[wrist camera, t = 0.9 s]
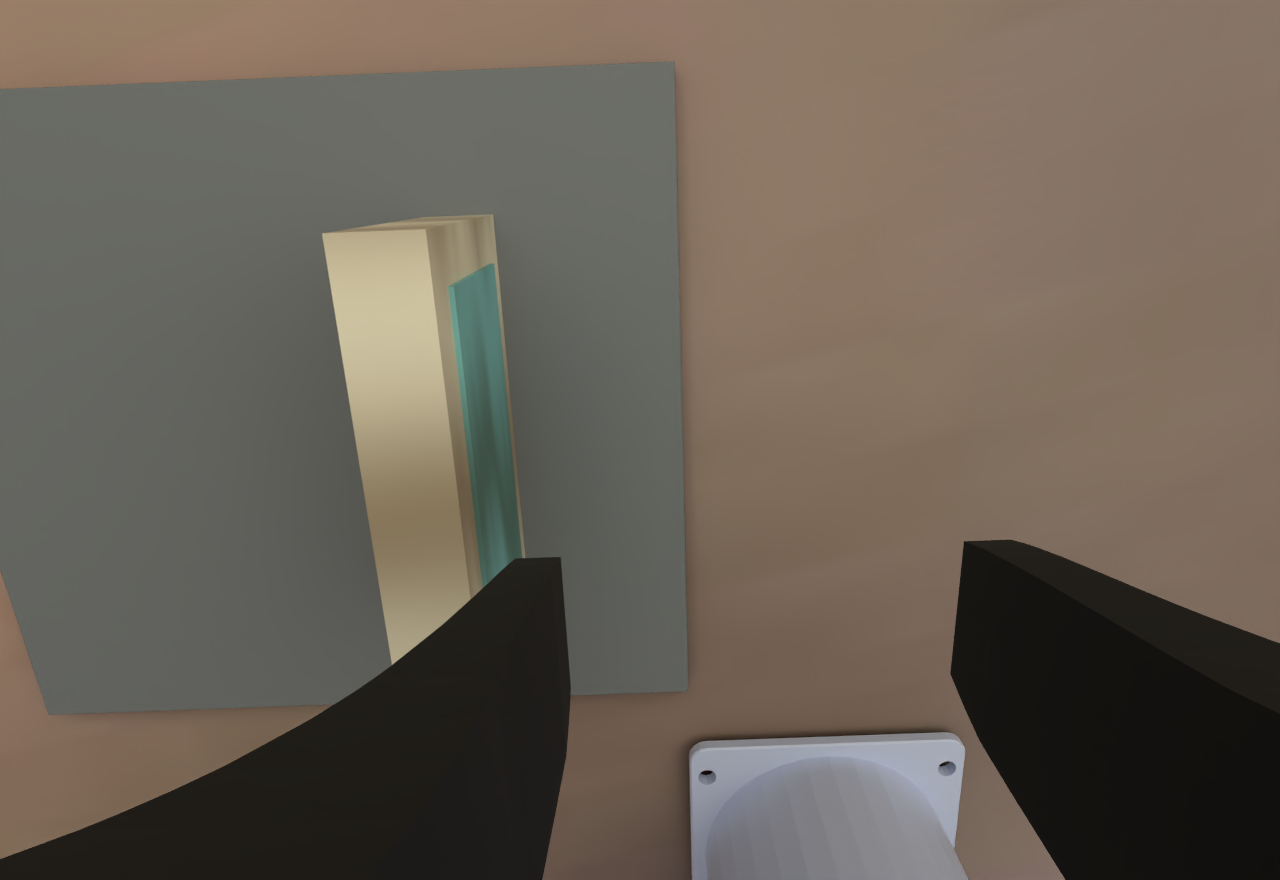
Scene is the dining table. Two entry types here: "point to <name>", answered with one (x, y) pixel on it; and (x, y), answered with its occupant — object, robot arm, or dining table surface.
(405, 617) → the slab
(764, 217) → the dining table surface
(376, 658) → the mat
